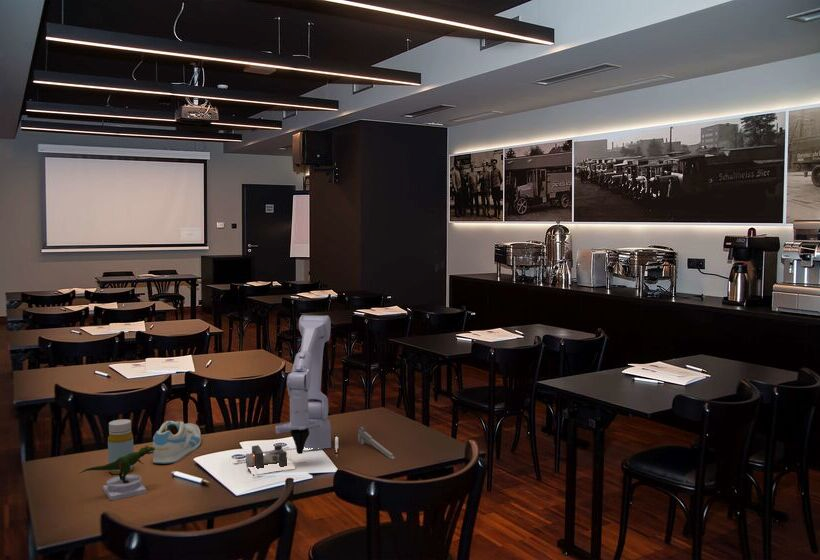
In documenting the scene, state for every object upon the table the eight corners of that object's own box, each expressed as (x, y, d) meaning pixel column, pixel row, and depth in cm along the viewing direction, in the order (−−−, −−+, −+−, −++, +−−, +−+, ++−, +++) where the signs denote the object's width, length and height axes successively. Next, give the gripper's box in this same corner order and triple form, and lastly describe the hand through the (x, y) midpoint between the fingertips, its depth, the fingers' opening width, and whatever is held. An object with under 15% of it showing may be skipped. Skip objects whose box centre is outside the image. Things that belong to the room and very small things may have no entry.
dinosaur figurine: (160, 490, 189) (159, 449, 189) (82, 507, 178) (80, 464, 177) (151, 480, 197) (150, 441, 196) (75, 496, 185) (74, 454, 184)
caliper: (357, 443, 231) (357, 425, 230) (360, 443, 231) (360, 425, 231) (392, 460, 215) (392, 441, 214) (395, 459, 215) (395, 440, 215)
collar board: (288, 459, 214) (288, 440, 213) (295, 469, 206) (295, 449, 205) (246, 465, 209) (246, 446, 208) (252, 475, 201) (252, 455, 200)
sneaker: (207, 438, 235) (207, 408, 235) (180, 466, 209) (179, 431, 208) (178, 438, 236) (178, 408, 235) (147, 465, 209) (146, 431, 208)
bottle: (139, 468, 206) (137, 420, 205) (122, 476, 200) (120, 426, 199) (120, 465, 209) (119, 417, 207) (103, 473, 202) (101, 424, 201)
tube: (281, 460, 211) (281, 447, 210) (284, 464, 207) (284, 451, 206) (245, 465, 206) (245, 452, 206) (248, 469, 202) (248, 456, 202)
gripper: (278, 416, 203) (279, 460, 204) (325, 410, 209) (325, 453, 210) (273, 410, 209) (274, 452, 211) (319, 405, 215) (319, 446, 216)
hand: (299, 452), depth 211 cm, fingers closed
